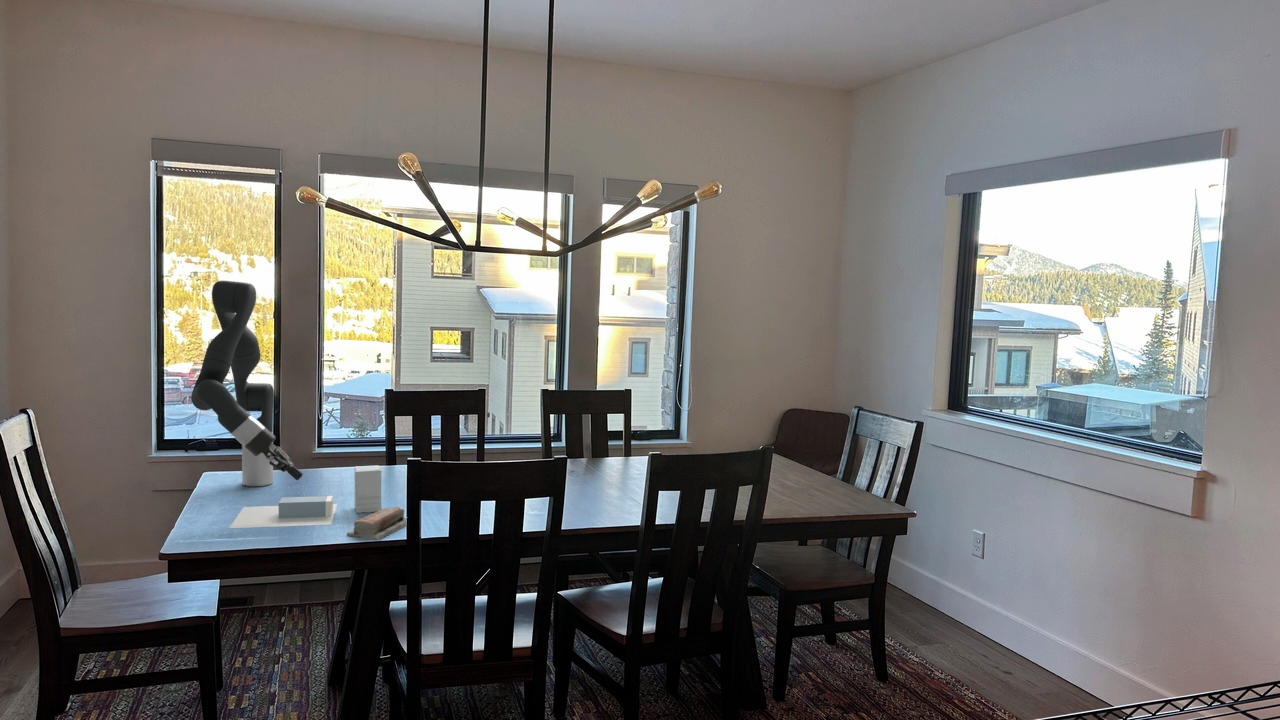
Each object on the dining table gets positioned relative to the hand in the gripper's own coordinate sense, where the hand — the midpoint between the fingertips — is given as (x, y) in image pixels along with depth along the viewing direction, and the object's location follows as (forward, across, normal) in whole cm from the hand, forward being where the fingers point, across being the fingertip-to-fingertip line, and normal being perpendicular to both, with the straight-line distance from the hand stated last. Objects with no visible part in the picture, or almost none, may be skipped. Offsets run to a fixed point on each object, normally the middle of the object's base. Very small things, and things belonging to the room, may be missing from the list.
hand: (300, 477), depth 241 cm
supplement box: (+21, +5, -5) cm, 22 cm away
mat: (+5, 0, +11) cm, 12 cm away
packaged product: (+24, -16, -8) cm, 30 cm away
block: (+2, 0, +10) cm, 10 cm away
